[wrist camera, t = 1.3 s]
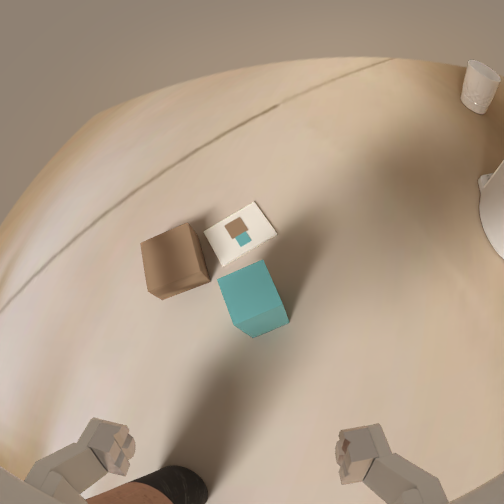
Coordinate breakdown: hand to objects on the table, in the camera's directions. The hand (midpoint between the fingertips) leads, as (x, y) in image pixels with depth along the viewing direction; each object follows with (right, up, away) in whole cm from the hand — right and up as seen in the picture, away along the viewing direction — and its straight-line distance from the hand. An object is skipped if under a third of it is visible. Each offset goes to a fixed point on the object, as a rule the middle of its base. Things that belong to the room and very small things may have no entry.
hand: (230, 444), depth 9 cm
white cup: (+49, +39, +32) cm, 70 cm away
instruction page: (-1, +9, +29) cm, 30 cm away
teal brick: (+2, 0, +24) cm, 24 cm away
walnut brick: (-9, +5, +29) cm, 30 cm away
